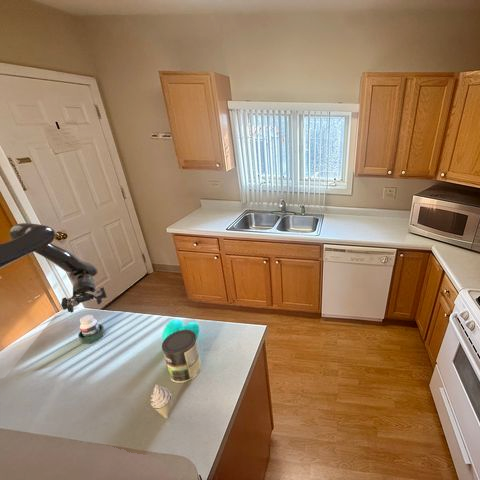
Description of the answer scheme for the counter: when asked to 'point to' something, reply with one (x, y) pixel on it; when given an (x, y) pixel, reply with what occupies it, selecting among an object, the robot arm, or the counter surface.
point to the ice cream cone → (161, 400)
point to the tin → (92, 338)
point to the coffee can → (182, 355)
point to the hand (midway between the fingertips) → (85, 306)
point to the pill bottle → (89, 326)
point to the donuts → (179, 328)
